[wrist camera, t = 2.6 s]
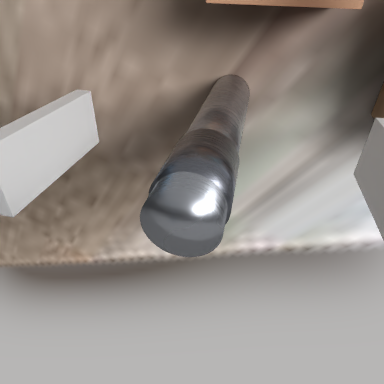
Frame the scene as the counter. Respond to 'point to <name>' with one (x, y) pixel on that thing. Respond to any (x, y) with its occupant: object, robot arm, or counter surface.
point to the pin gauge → (199, 176)
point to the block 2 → (379, 105)
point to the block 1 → (298, 3)
